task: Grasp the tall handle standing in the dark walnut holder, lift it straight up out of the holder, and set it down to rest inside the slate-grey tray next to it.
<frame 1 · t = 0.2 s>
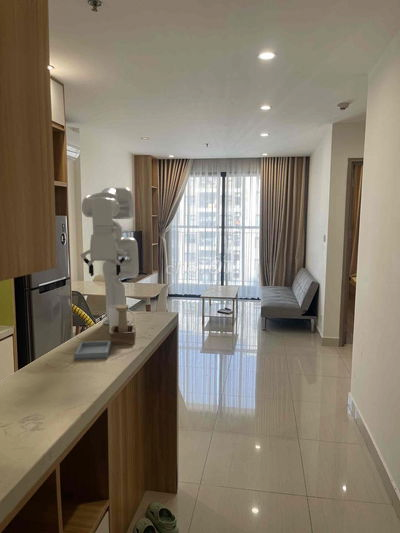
hand: (105, 275, 150), 30 cm above the counter, tool pointing down, fingers open, 9 cm apart
mug: (122, 332, 180), on the counter
holder: (123, 340, 168), on the counter
tray: (93, 353, 153), on the counter
handle: (123, 340, 168), resting in holder
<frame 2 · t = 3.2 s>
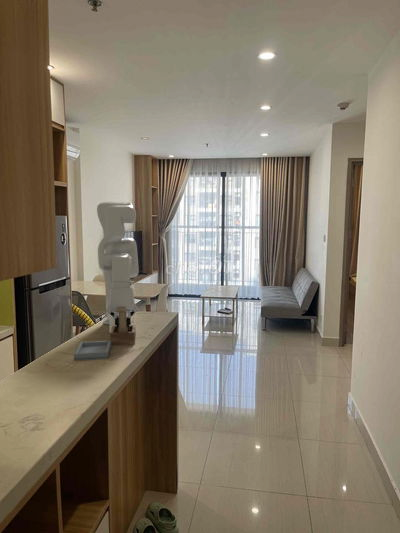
hand: (123, 326, 167), 6 cm above the counter, tool pointing down, fingers closed on handle, 3 cm apart
handle: (123, 340, 168), resting in holder, touching gripper
everything else where it was.
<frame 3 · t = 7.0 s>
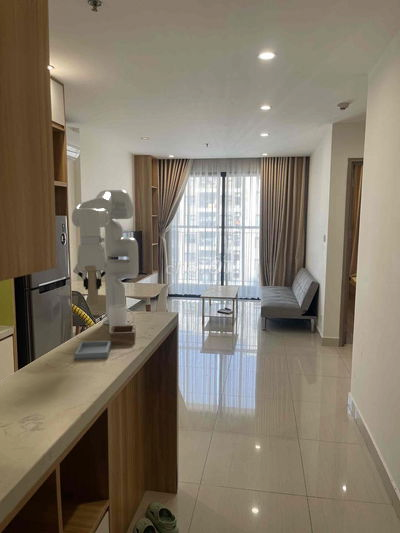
hand: (92, 288, 150), 26 cm above the counter, tool pointing down, fingers closed on handle, 3 cm apart
handle: (93, 304, 151), point 19 cm above the counter, touching gripper
everything else where it was.
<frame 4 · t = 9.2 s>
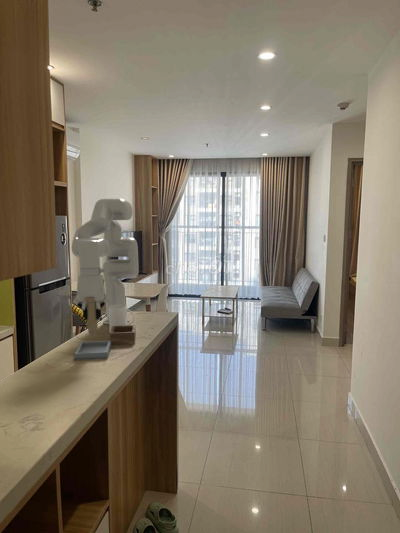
hand: (92, 318, 151), 14 cm above the counter, tool pointing down, fingers closed on handle, 3 cm apart
handle: (93, 334, 151), point 7 cm above the counter, touching gripper
everything else where it was.
when the fingers open (9 cm above the counter, at t = 10.9 s): handle drops 2 cm, resting on tray.
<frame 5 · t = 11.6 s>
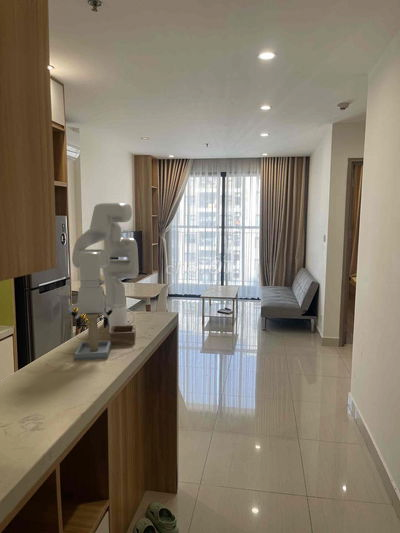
hand: (92, 327, 151), 10 cm above the counter, tool pointing down, fingers open, 9 cm apart
handle: (94, 350, 153), point 1 cm above the counter, touching tray
everything else where it was.
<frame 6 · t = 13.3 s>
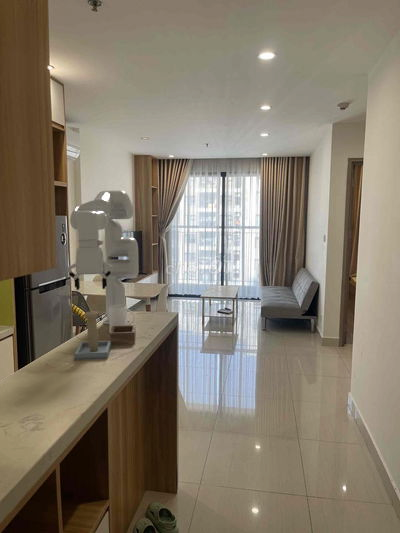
hand: (91, 288, 150), 25 cm above the counter, tool pointing down, fingers open, 9 cm apart
nothing on the counter moved.
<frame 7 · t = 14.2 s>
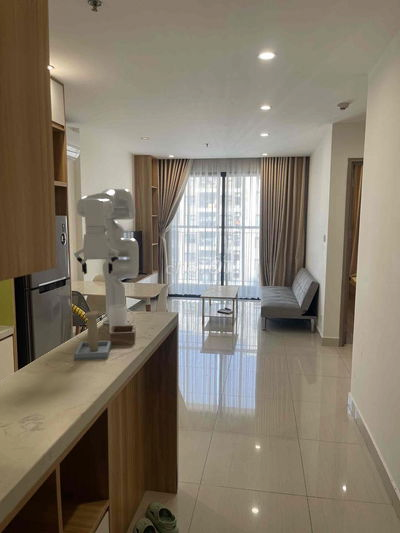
hand: (97, 273, 157), 30 cm above the counter, tool pointing down, fingers open, 9 cm apart
nothing on the counter moved.
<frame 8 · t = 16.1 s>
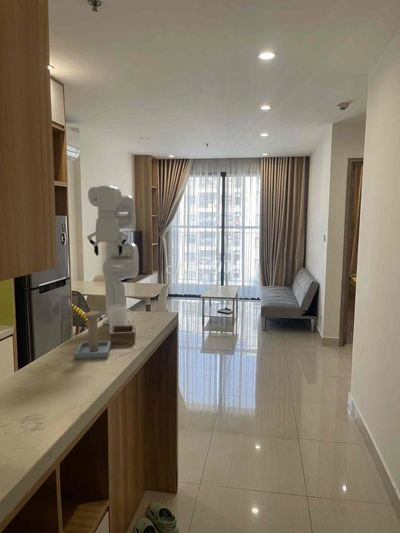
hand: (108, 255, 169), 36 cm above the counter, tool pointing down, fingers open, 9 cm apart
nothing on the counter moved.
at the end: handle inside the target area on the tray (0.2 cm from its centre), point 0.8 cm above the tray's base; handle touching tray; the gripper is holding nothing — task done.
